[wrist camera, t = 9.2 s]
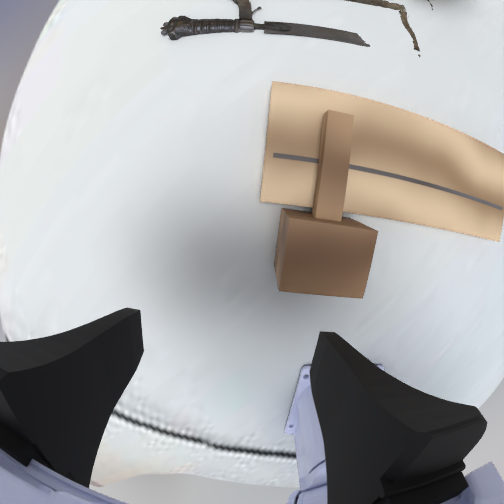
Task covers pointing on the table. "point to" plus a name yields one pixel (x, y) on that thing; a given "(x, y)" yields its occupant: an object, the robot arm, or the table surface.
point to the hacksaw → (273, 25)
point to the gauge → (326, 227)
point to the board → (384, 163)
